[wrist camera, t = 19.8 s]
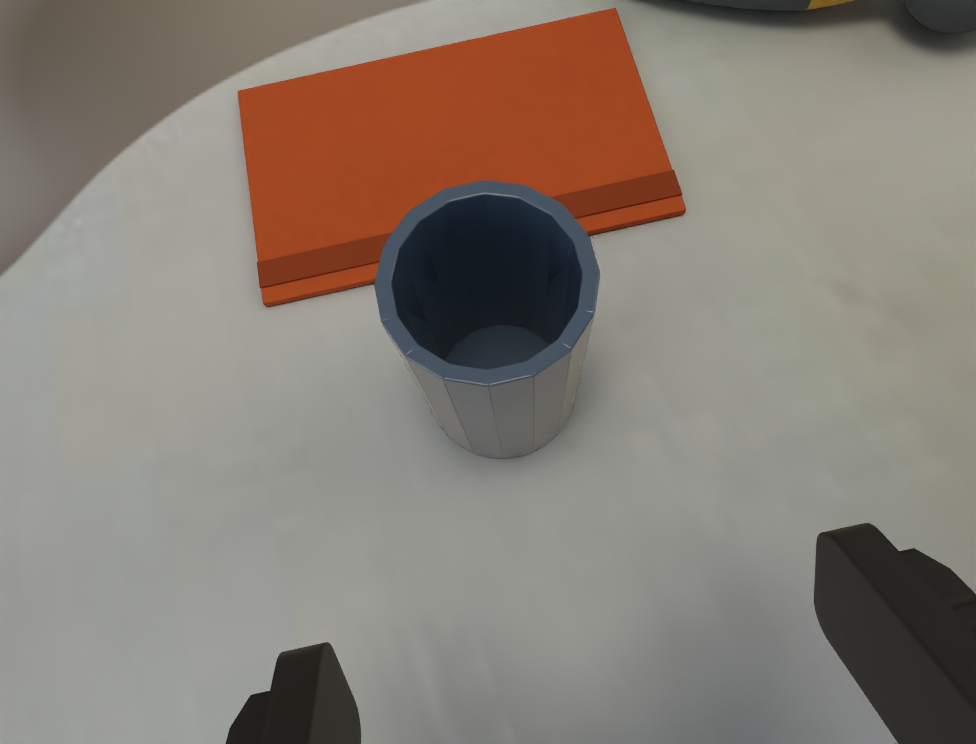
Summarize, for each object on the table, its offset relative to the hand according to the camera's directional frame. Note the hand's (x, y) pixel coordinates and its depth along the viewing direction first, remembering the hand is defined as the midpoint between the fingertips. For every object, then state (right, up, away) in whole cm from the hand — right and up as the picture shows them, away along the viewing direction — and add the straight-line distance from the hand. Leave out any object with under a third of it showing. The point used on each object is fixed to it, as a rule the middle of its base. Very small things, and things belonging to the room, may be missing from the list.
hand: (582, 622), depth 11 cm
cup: (-1, +3, +16) cm, 16 cm away
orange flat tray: (-3, +14, +19) cm, 24 cm away
